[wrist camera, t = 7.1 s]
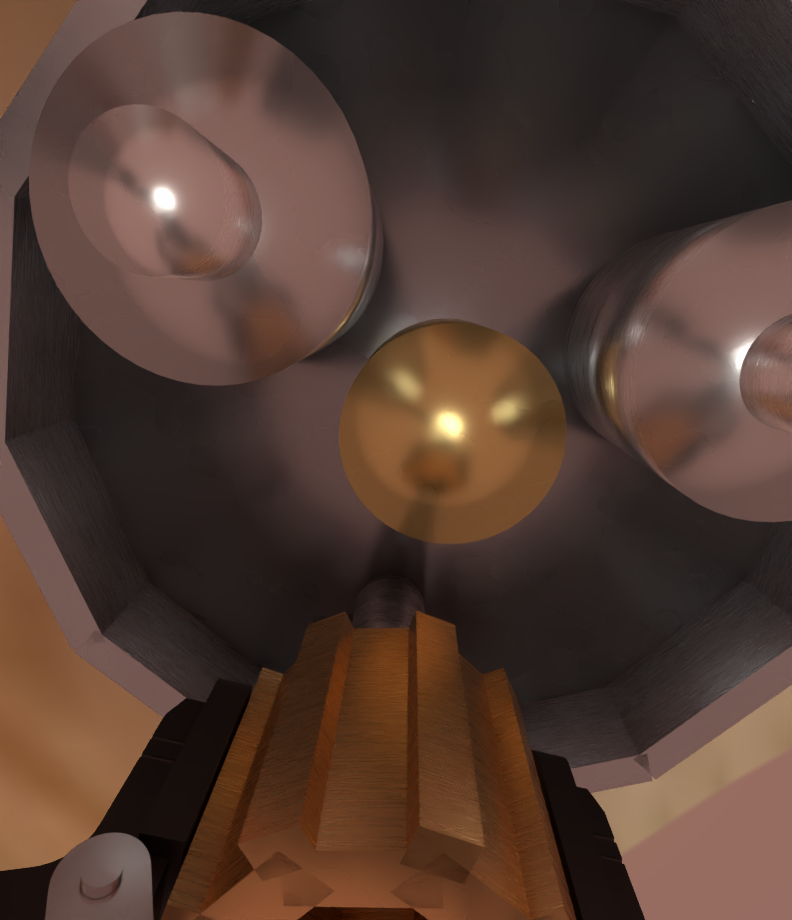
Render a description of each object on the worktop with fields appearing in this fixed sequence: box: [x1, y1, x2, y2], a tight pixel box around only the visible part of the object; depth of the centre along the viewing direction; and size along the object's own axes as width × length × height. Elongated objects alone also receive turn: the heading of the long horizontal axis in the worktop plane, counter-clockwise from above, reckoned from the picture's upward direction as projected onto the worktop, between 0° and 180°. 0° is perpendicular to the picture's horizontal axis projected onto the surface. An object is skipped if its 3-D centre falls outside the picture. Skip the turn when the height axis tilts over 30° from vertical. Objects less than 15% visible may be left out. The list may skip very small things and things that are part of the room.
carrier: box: [0, 0, 792, 793], centre depth 13 cm, size 23×23×8 cm
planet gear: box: [161, 611, 576, 920], centre depth 10 cm, size 6×6×5 cm
